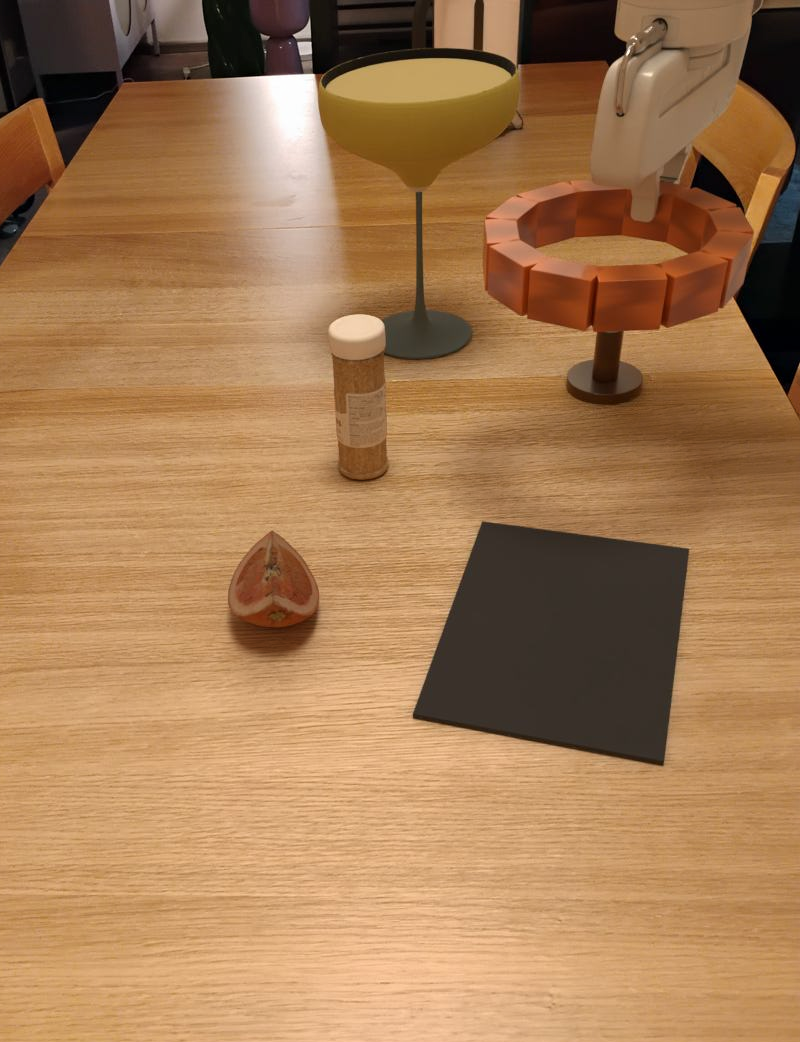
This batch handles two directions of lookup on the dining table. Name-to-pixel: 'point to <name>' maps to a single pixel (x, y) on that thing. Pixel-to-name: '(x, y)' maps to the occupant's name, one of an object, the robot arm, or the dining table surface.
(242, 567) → the fruit slice
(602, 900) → the dining table surface
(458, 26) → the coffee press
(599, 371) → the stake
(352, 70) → the cocktail glass
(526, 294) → the ring
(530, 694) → the mat
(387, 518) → the dining table surface
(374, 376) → the sprinkles bottle
